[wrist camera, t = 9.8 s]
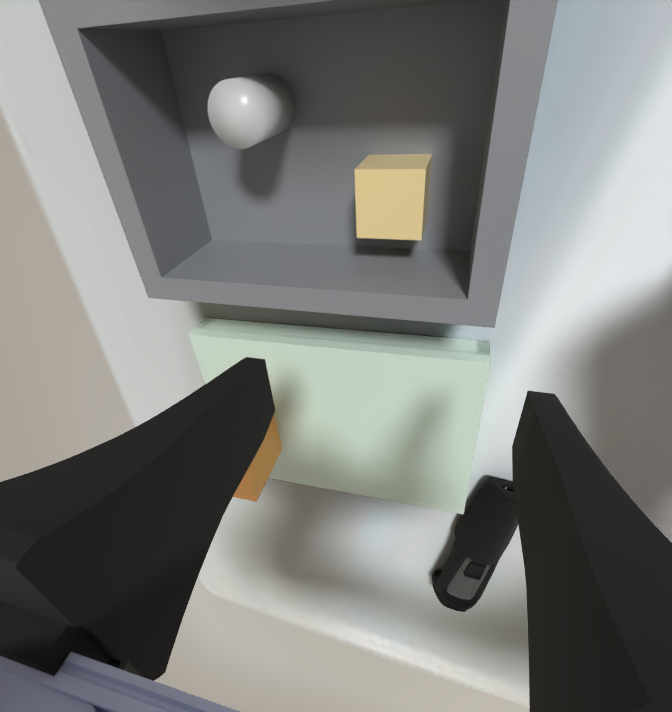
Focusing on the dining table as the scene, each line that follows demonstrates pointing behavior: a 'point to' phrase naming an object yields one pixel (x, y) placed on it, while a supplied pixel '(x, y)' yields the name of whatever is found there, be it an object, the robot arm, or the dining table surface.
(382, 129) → the tub
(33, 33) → the dining table surface
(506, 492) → the electric trimmer
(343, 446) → the lid
